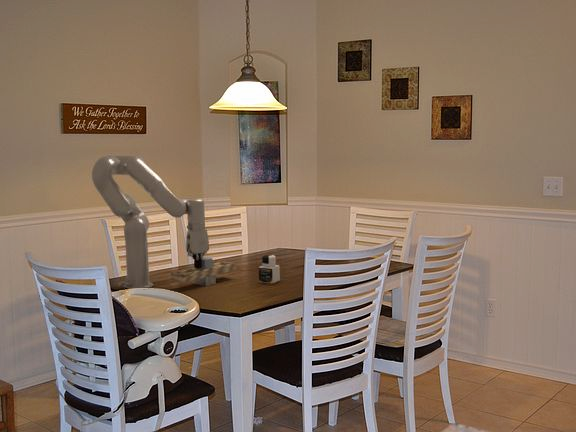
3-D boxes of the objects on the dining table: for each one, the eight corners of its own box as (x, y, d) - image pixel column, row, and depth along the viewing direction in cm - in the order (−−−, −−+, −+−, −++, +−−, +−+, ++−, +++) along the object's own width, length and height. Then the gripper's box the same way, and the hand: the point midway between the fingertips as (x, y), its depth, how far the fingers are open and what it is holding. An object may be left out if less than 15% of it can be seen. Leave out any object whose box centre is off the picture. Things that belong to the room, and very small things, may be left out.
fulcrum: (206, 286, 313) (206, 277, 313) (193, 283, 318) (193, 275, 318) (216, 283, 318) (215, 274, 317) (203, 281, 323) (203, 272, 323)
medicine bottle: (258, 282, 319) (258, 256, 318) (266, 279, 325) (265, 253, 324) (272, 283, 316) (272, 257, 314) (280, 280, 322) (279, 254, 320)
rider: (205, 270, 315) (205, 259, 314) (198, 269, 318) (198, 258, 317) (212, 269, 318) (212, 258, 318) (205, 268, 321) (205, 257, 321)
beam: (183, 282, 303) (183, 274, 303) (171, 280, 308) (171, 272, 308) (235, 270, 328) (235, 262, 327) (223, 268, 333) (223, 260, 332)
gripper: (189, 229, 304) (191, 271, 306) (214, 225, 315) (216, 266, 318) (177, 228, 309) (179, 269, 311) (202, 224, 320) (204, 264, 322)
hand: (198, 267), depth 314 cm, fingers closed
